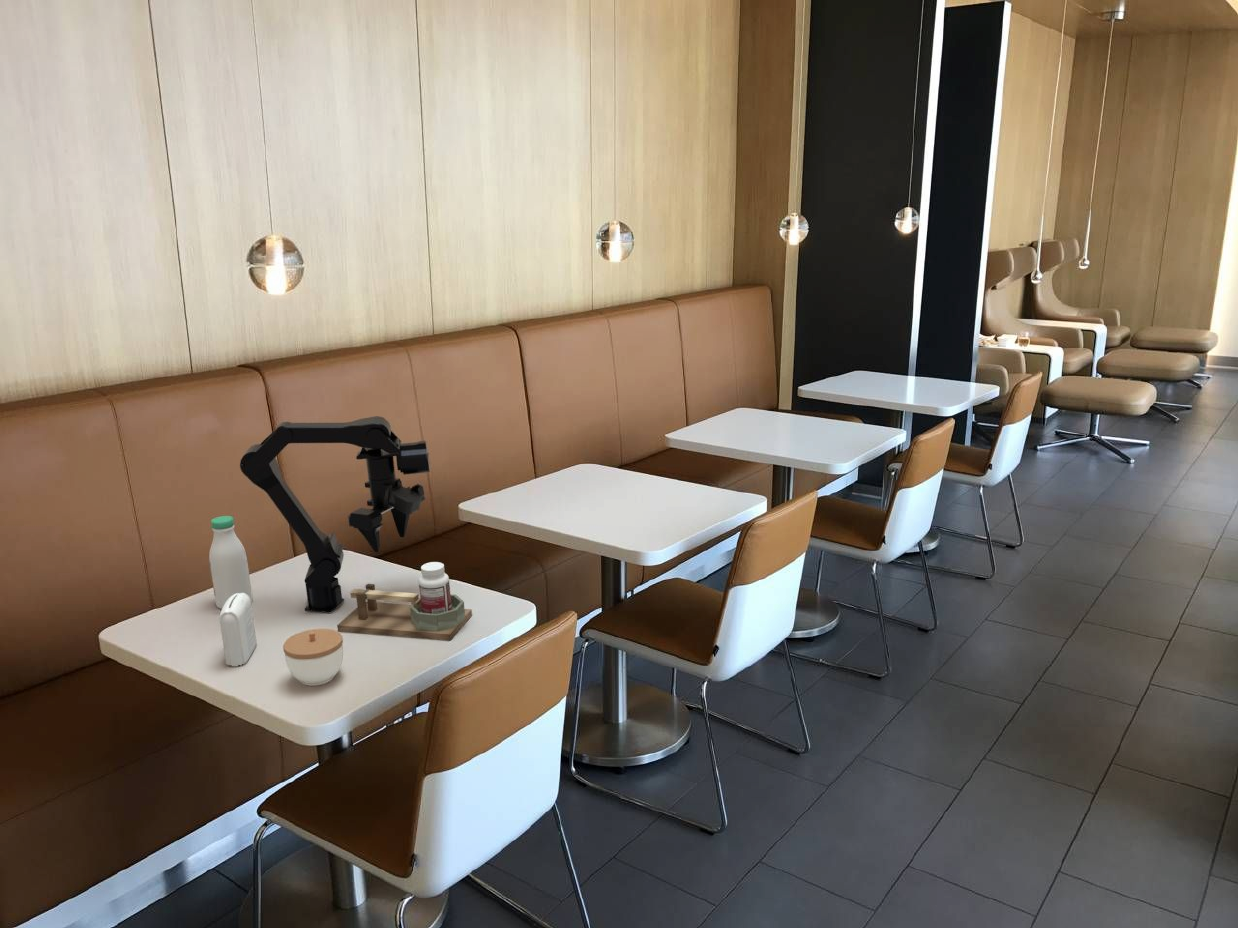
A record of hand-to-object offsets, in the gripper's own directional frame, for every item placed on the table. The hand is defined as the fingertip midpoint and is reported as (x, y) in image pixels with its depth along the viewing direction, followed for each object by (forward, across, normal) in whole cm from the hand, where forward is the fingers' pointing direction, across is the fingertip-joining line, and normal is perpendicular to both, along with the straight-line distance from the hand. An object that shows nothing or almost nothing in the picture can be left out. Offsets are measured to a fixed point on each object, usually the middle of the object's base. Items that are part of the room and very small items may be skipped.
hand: (389, 544), depth 224 cm
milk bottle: (+13, -14, +33) cm, 38 cm away
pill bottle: (+11, -8, -16) cm, 21 cm away
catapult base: (+13, -9, -9) cm, 19 cm away
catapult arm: (+12, -9, -10) cm, 18 cm away
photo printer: (+13, -33, +14) cm, 38 cm away
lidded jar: (+13, -35, -7) cm, 38 cm away
